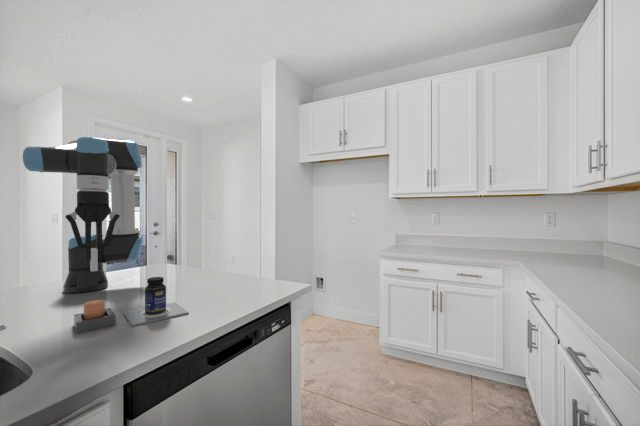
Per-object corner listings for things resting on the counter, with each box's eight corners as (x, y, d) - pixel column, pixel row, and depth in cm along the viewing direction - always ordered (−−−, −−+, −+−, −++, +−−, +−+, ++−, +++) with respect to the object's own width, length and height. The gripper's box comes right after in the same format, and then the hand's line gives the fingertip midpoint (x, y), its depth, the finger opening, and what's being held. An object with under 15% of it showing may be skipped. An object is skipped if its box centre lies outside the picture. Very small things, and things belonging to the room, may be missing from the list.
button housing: (74, 324, 89) (73, 314, 89) (110, 317, 95) (110, 307, 95) (76, 334, 82) (76, 323, 82) (115, 325, 89) (115, 315, 88)
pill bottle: (156, 315, 95) (156, 281, 94) (140, 314, 96) (140, 280, 96) (170, 309, 101) (170, 276, 100) (154, 307, 102) (154, 275, 102)
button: (83, 318, 89) (82, 302, 89) (103, 314, 92) (103, 298, 92) (84, 323, 85) (84, 306, 85) (105, 319, 89) (105, 302, 89)
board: (123, 314, 98) (123, 312, 98) (175, 303, 109) (175, 301, 109) (132, 326, 88) (132, 324, 88) (188, 313, 98) (188, 311, 98)
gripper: (64, 189, 81) (65, 275, 81) (121, 191, 90) (122, 269, 90) (63, 190, 87) (64, 271, 87) (117, 192, 95) (118, 265, 96)
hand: (94, 270), depth 89 cm, fingers closed
